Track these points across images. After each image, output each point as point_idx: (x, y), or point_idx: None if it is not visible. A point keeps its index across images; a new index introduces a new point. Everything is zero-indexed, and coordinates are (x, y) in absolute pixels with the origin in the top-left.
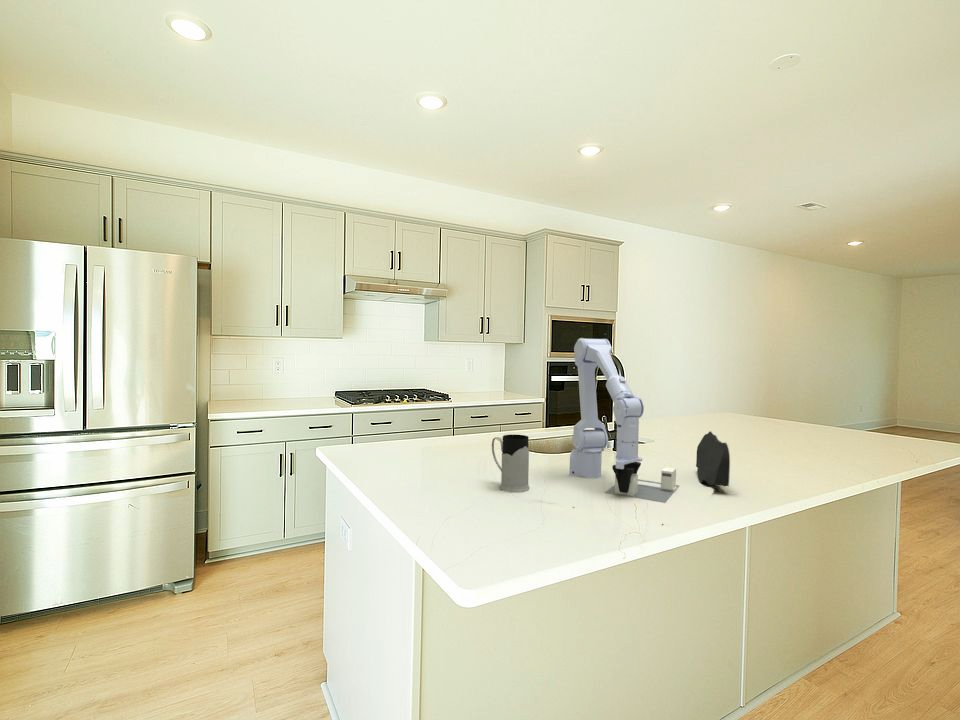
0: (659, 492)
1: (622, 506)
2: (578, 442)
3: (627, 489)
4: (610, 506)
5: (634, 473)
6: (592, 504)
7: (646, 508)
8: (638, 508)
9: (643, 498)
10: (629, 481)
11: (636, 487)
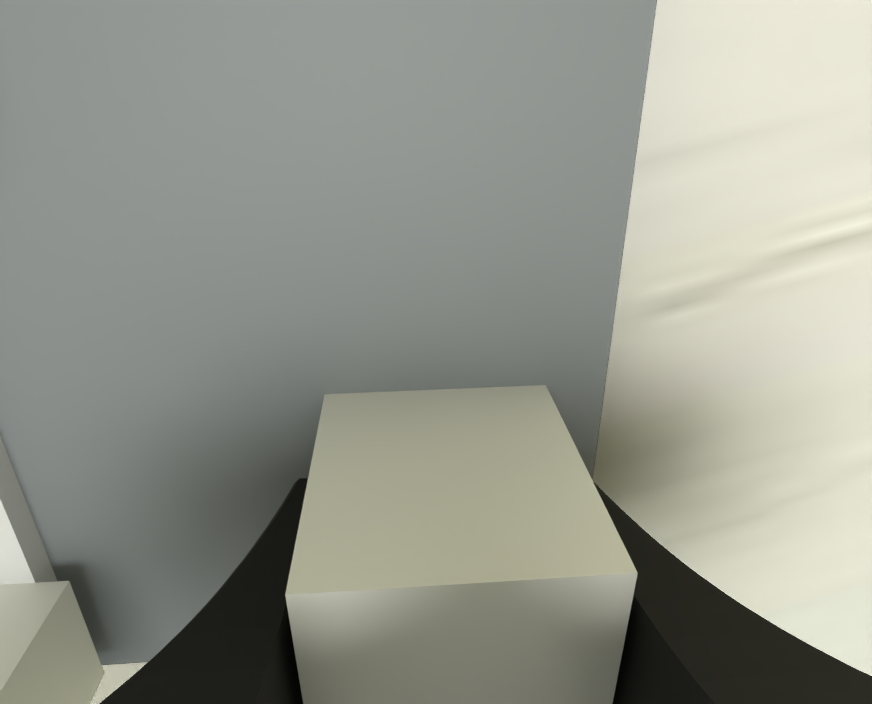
0: (91, 120)
1: (809, 382)
2: None
3: (599, 490)
4: (850, 466)
5: (282, 651)
6: (841, 587)
7: (790, 134)
8: (825, 220)
9: (594, 247)
10: (650, 560)
11: (389, 435)
